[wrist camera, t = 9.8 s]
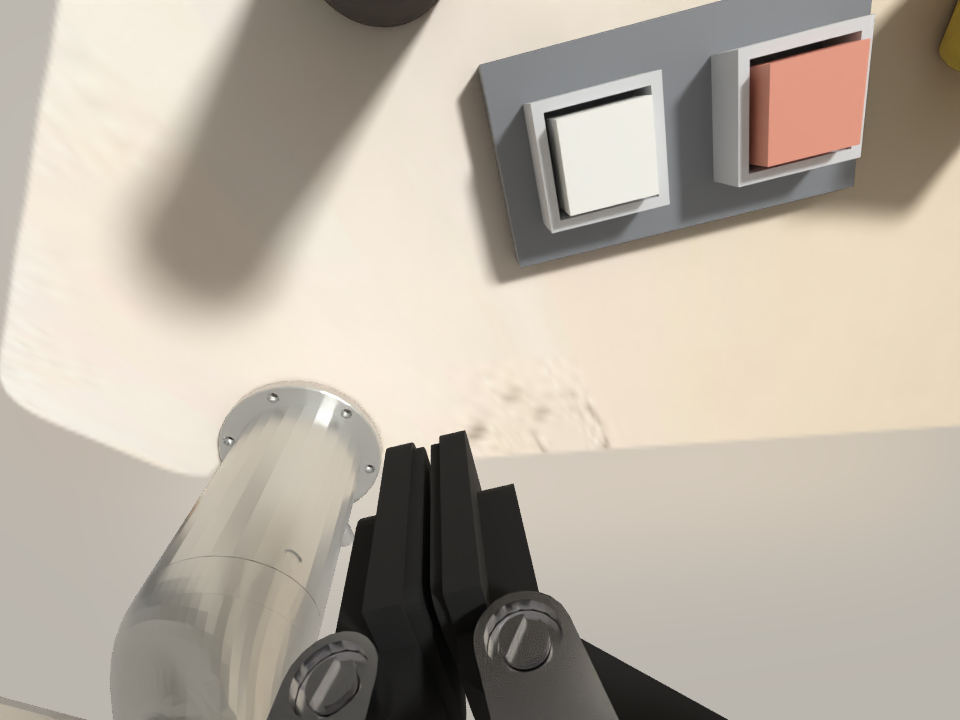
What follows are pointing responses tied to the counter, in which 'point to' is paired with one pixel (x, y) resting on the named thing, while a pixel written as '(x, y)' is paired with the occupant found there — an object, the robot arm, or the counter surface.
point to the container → (382, 10)
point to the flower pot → (952, 41)
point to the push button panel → (663, 118)
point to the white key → (604, 154)
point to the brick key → (807, 103)
